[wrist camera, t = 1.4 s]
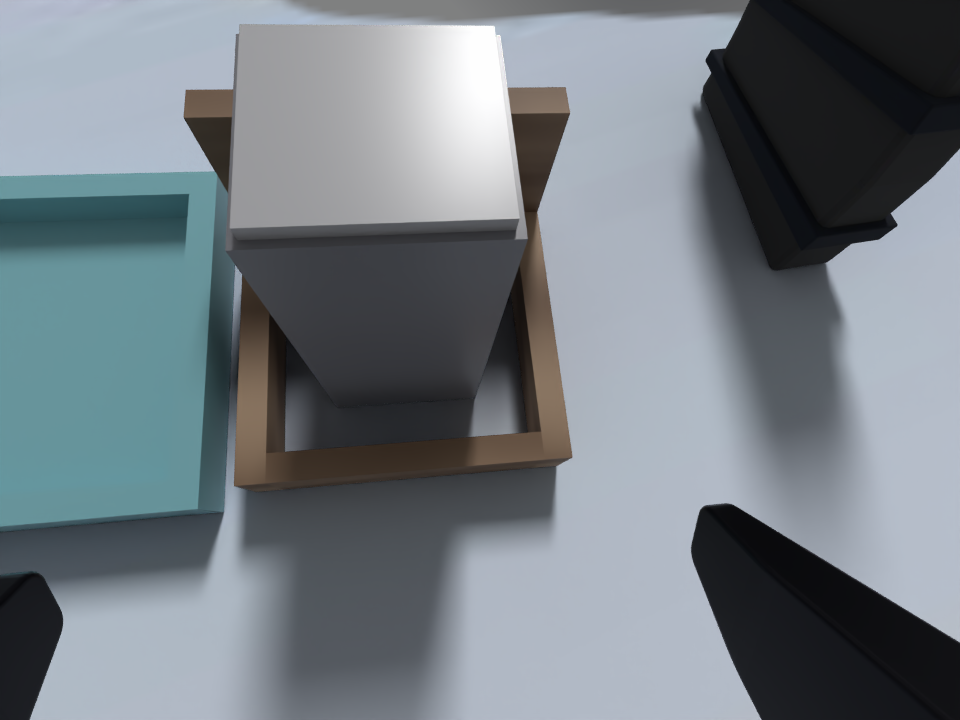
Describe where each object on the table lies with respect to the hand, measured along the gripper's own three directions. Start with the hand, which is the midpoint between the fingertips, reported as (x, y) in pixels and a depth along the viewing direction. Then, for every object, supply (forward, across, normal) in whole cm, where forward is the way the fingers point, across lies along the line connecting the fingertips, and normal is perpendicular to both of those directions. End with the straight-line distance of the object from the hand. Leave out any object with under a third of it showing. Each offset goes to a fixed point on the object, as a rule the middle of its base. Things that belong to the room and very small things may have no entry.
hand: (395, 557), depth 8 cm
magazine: (+22, -18, -2) cm, 28 cm away
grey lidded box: (+15, 0, +4) cm, 16 cm away
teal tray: (+15, +14, +4) cm, 21 cm away
